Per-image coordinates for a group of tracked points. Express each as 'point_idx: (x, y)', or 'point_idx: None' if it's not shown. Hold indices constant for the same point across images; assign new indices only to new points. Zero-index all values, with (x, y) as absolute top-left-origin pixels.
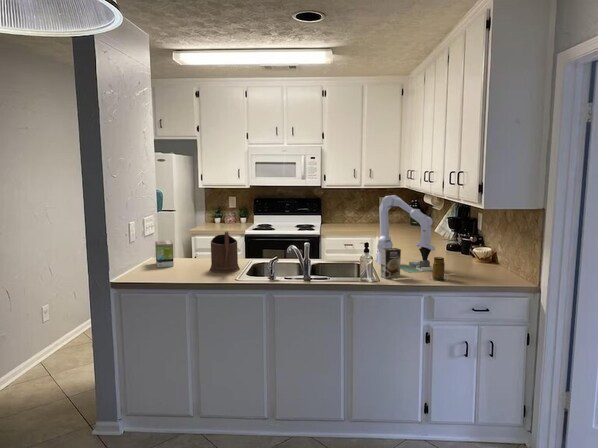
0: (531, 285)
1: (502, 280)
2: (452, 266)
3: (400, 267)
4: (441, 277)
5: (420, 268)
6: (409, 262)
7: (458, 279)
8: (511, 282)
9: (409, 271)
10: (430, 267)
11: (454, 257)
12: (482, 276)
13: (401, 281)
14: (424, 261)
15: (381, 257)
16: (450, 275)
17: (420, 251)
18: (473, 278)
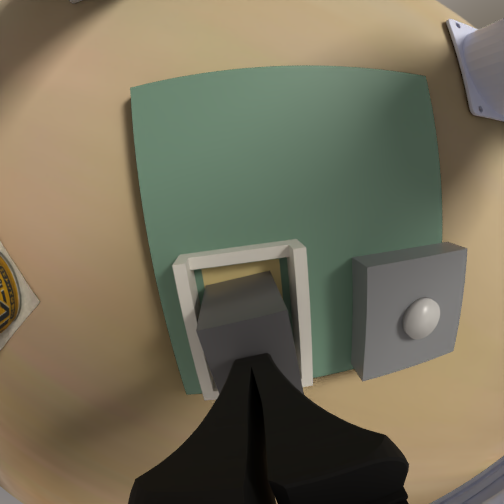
0: (17, 499)
1: (48, 497)
2: None
3: (386, 105)
4: None
5: (255, 277)
6: (459, 248)
7: (10, 392)
8: (31, 495)
9: (188, 109)
10: (197, 369)
11: (445, 493)
12: (94, 498)
13: (5, 14)
14: (233, 357)
15: None
16: (90, 415)
17: (331, 425)
18: (48, 457)
